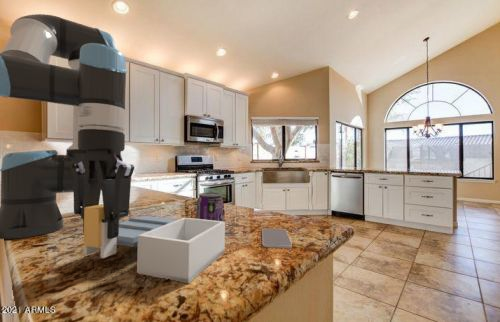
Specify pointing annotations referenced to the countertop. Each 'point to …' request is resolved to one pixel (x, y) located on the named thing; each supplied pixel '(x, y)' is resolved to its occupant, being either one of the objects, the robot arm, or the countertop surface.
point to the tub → (180, 248)
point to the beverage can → (210, 206)
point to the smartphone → (275, 238)
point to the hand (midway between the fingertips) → (100, 253)
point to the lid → (126, 229)
